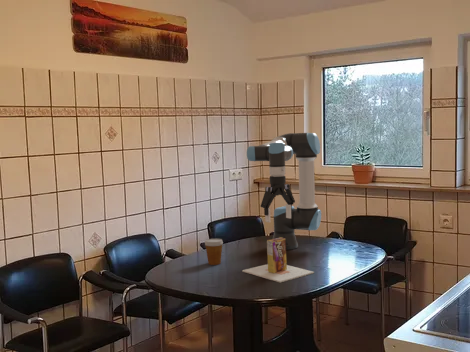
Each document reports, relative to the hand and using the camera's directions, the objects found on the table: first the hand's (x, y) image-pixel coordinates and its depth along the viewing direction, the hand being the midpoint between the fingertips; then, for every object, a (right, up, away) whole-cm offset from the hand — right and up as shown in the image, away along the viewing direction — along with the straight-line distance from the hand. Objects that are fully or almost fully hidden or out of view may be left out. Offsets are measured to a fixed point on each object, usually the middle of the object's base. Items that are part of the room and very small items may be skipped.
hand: (278, 220), depth 261 cm
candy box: (-1, -24, 0) cm, 24 cm away
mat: (0, -25, 0) cm, 25 cm away
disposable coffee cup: (-31, -24, +20) cm, 44 cm away
